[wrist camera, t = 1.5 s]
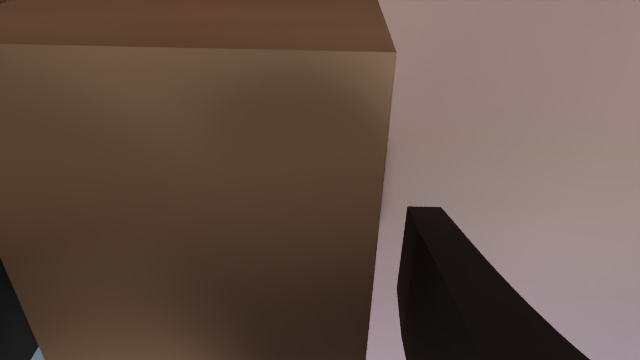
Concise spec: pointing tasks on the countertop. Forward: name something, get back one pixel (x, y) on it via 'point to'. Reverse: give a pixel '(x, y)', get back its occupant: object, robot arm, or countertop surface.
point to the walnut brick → (194, 175)
